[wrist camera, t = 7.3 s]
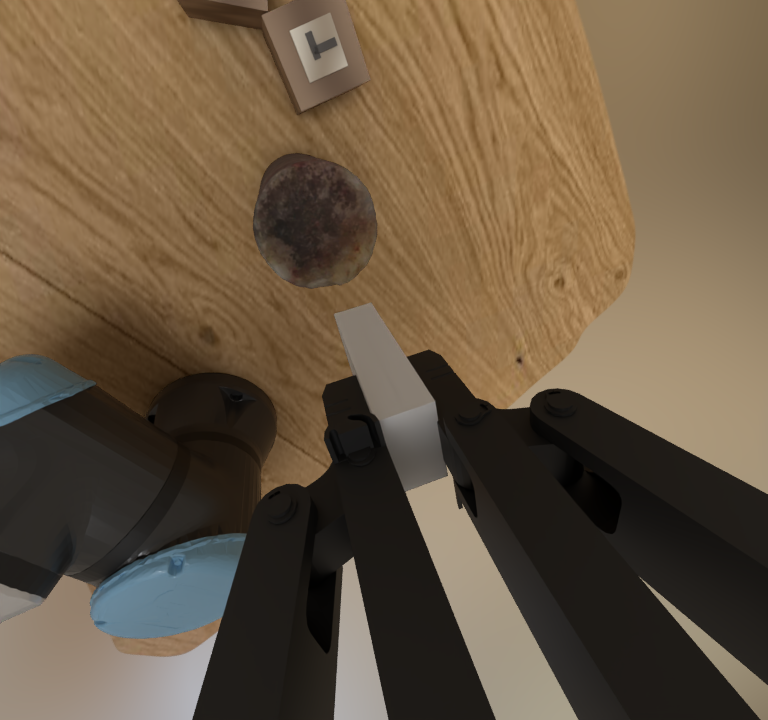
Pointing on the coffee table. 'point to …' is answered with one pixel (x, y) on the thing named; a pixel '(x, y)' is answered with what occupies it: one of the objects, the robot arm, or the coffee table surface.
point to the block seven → (227, 11)
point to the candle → (314, 221)
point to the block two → (315, 50)
